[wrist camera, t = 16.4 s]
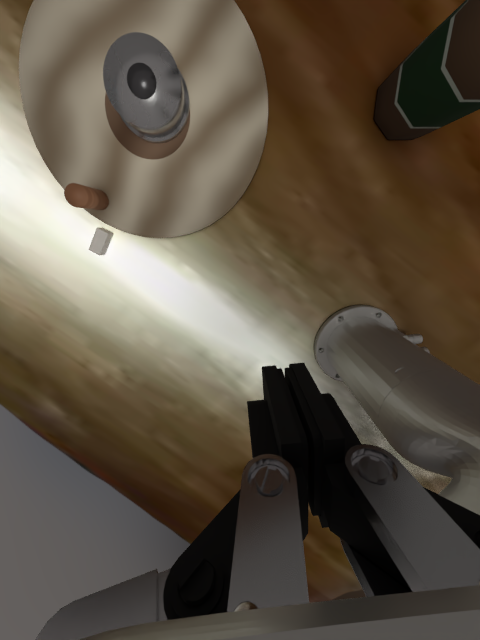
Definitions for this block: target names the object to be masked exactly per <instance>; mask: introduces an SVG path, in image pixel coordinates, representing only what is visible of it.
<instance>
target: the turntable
mask: <svg viewBox="0 0 480 640" xmlns="http://www.w3.org/2000/svg"><path fill="white" fill-rule="evenodd" d="M132 32H140V33H145V34H148V35H151V36H153V37H154V38H156V39H158V40H159V41H160V42H161V43H162V44H163V45H164V46H165V47H166V48H167V49H168V50H169V52H170V53H171V55H172V56H173V58H174V60H175V62H176V65H177V68H178V69H179V71H180V72H181V74H182V76H183V78H184V80H185V83H186V86H187V89H188V93H189V99H190V111H189V117H188V120H187V123H186V125H185V127H184V129H183V130H182V132H181V133H180V134H179V135H178V136H177V137H176V138H174V139H172V140H171V141H168V142H165V143H151V142H148V141H145V140H143V139H141V138H140V137H138V136H137V135H135V134H134V133H133V132H132V131H131V130H130V129H129V128H128V127H127V125H126V124H125V123H124V121H123V120H122V118H121V116H120V114H119V113H118V112H117V111H116V110H115V108H114V107H113V106H112V104H111V102H110V100H109V98H108V96H107V93H106V90H105V86H104V81H103V66H104V61H105V57H106V54H107V52H108V50H109V48H110V46H111V45H112V44H113V43H114V42H115V41H116V40H117V39H118V38H119V37H121V36H123V35H125V34H127V33H132ZM19 79H20V91H21V97H22V103H23V108H24V112H25V116H26V119H27V123H28V126H29V129H30V132H31V134H32V137H33V139H34V142H35V144H36V147H37V149H38V151H39V152H40V154H41V156H42V158H43V160H44V162H45V164H46V165H47V167H48V168H49V170H50V171H51V173H52V174H53V176H54V177H55V179H56V180H57V181H58V183H59V184H60V185H61V186H62V187H63V189H64V190H65V191H64V194H65V198H66V200H67V201H68V203H69V204H71V205H72V206H74V207H79V208H84V209H85V210H86V211H88V212H89V213H90V214H91V215H93V216H95V217H96V218H98V219H99V220H101V221H102V222H104V223H106V224H108V225H110V226H112V227H114V228H116V229H118V230H121V231H124V232H127V233H130V234H134V235H139V236H144V237H153V238H168V237H177V236H182V235H187V234H190V233H193V232H196V231H199V230H201V229H203V228H205V227H207V226H209V225H211V224H213V223H214V222H216V221H217V220H218V219H220V218H221V217H222V216H224V215H225V214H226V213H227V212H228V211H229V210H230V209H231V208H232V207H233V206H234V205H235V204H236V203H237V201H238V200H239V199H240V198H241V196H242V195H243V194H244V192H245V190H246V189H247V187H248V185H249V184H250V182H251V180H252V178H253V176H254V173H255V171H256V169H257V167H258V164H259V161H260V158H261V155H262V152H263V148H264V143H265V138H266V133H267V122H268V92H267V85H266V77H265V72H264V68H263V64H262V59H261V55H260V52H259V50H258V47H257V44H256V41H255V38H254V36H253V33H252V31H251V29H250V27H249V25H248V23H247V21H246V19H245V17H244V15H243V14H242V12H241V11H240V9H239V7H238V6H237V4H236V3H235V1H234V0H34V1H33V3H32V5H31V7H30V9H29V12H28V15H27V19H26V22H25V25H24V28H23V34H22V39H21V45H20V56H19Z"/></svg>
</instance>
